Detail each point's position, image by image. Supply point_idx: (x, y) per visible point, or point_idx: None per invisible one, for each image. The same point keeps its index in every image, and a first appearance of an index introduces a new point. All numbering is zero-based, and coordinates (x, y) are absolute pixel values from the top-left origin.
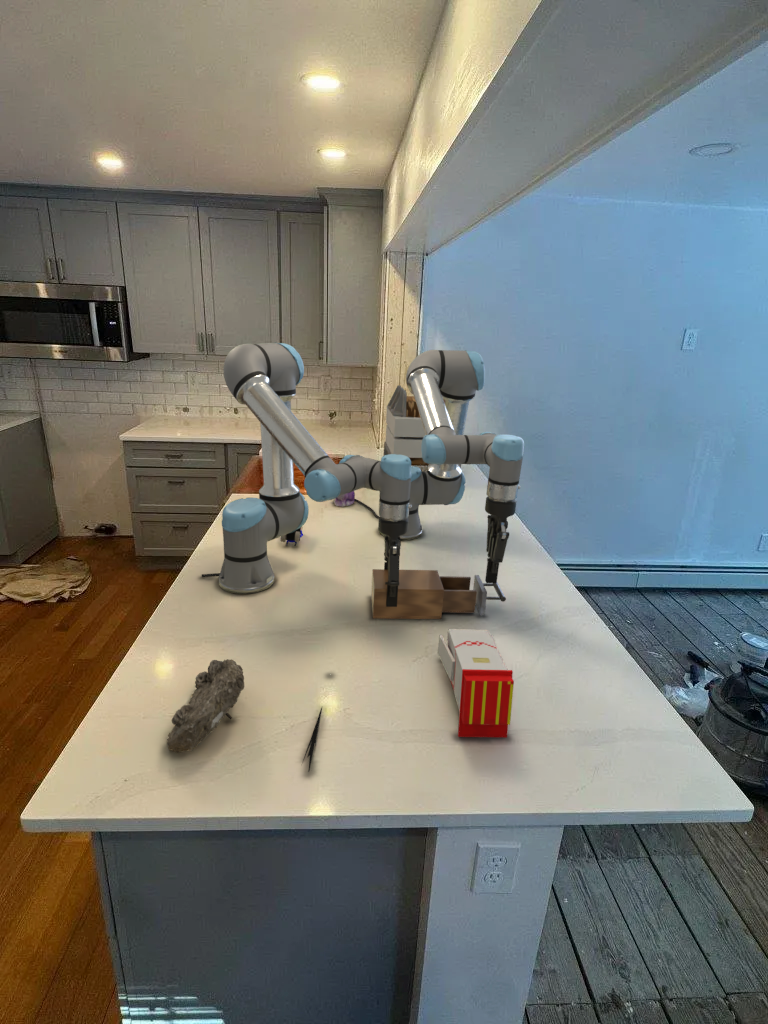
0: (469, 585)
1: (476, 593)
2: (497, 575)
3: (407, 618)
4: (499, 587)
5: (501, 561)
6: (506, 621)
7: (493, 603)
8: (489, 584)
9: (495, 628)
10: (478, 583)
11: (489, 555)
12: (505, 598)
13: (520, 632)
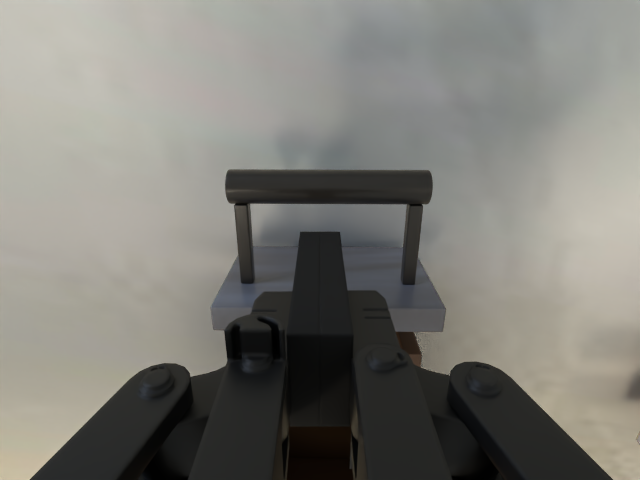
0: None
1: (418, 347)
2: (342, 257)
3: None
4: (306, 185)
5: (508, 389)
6: (444, 147)
7: (274, 167)
8: (250, 227)
9: (495, 213)
10: None
11: (287, 446)
12: (430, 175)
13: (549, 105)
